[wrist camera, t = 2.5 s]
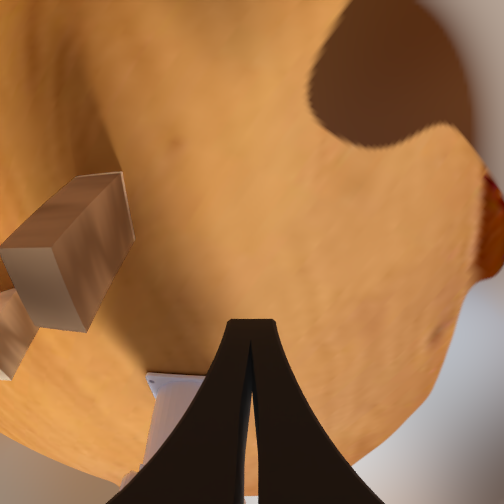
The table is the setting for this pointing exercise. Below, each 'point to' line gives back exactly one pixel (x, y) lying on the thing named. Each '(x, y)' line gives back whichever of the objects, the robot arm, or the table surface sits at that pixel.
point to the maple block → (13, 333)
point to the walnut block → (71, 251)
